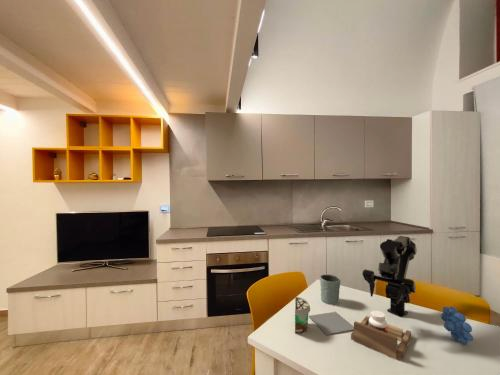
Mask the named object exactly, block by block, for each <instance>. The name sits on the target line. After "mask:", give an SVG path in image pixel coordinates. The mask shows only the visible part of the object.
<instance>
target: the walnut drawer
mask: <svg viewBox="0 0 500 375" xmlns="http://www.w3.org/2000/svg"><path fill="white" fill-rule="evenodd" d="M370 317H371V316H368V315H366V316H365V317H364V318H363V319H362V320H361V322H358V321H356V320H355V321H354V322H353V326H354V331H351V333H350V340H351V341H353V342H355V343H357V344H360V345H361V346H364V347H366V348H369V349H371V350H373V351H376V352H377V353H379V354H383V355H385V356H386V357H387V356H388V357H389V358H391V359H393V360H398V361H402V359H403V357H404V355H405V352H406V350H407V347H408V345H409V343H410V341H411V338H412V331H410V330H408V329H406V331H405V332H404V336H403V339H402V341H400V342H399V344H398V340H397V337H396V336H394V335H391V334H388V333H386V332H383V331H380V330H378V329H375V328H372V327H370V326H368V325H369V318H370Z"/></svg>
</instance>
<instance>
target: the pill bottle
mask: <svg viewBox="0 0 500 375" xmlns="http://www.w3.org/2000/svg"><path fill="white" fill-rule="evenodd" d="M369 317H370V318H369V324H368V325H369V326H370V327H372V328H375V329H378V330H380V331H383V332H386V333H387V324H388V321H386V315H385V313H383V312H382V311H378V310H372V311H370V316H369Z"/></svg>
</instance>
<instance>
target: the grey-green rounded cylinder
mask: <svg viewBox="0 0 500 375" xmlns="http://www.w3.org/2000/svg"><path fill="white" fill-rule="evenodd" d="M341 281H342V280H341V278H340V277H338V276H337V275H334V274H329V273H327V274H321V275H320V276H319V282H320V283H319V284H320V300H321V302H322V303H324V304H325V305H326V304H327V305H331V306H334V305H337V304H339V300H340V289H341Z"/></svg>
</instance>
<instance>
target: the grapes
mask: <svg viewBox="0 0 500 375" xmlns="http://www.w3.org/2000/svg"><path fill="white" fill-rule="evenodd" d="M441 310H442V313H440V318H441V320H442V321H443V322H444V323H443V327H444V329H445V330H446V331H448V332H449V333H450V336H451V338H452V339H453V340H455V341H459V342H460V343H461V344H463V345H467V344H468V343H469V342H472V341H473V340H474V337H473V335H472V333H471V332H473V327H472V325H471V324H470V323H468V322H466V320H467V317H466V316H465V315H464V314H463V312H460V311H459V312H458V309H457V308H456V307H454V306H449V307H447V306H443V307H442V309H441Z"/></svg>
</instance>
